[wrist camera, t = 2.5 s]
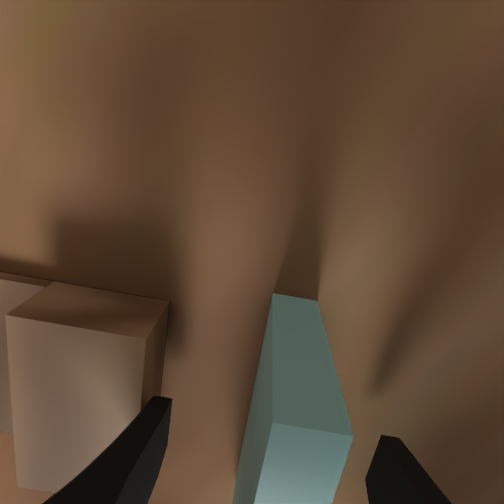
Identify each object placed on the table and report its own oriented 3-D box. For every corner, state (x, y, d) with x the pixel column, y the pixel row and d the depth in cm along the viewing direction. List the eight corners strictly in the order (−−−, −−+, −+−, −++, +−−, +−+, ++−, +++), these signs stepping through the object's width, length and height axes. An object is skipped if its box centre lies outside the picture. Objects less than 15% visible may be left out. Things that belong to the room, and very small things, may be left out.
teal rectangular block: (317, 299, 13) (353, 436, 7) (271, 483, 15) (271, 687, 10) (272, 292, 13) (272, 422, 7) (235, 477, 15) (213, 677, 10)
